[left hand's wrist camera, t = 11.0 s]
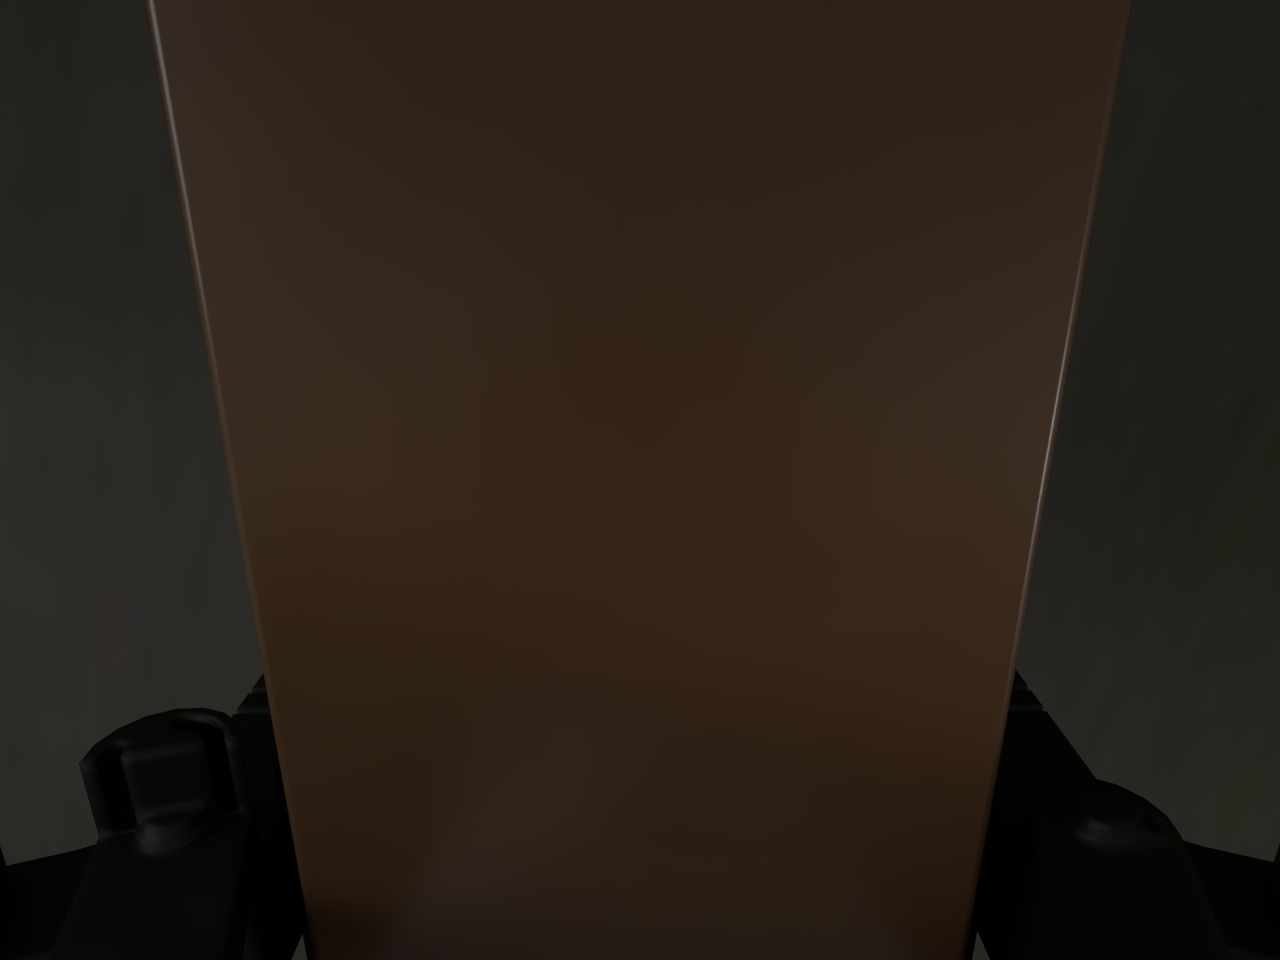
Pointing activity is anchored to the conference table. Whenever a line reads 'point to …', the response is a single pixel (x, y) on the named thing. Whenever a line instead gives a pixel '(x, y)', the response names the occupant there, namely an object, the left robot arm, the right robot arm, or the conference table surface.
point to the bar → (639, 446)
